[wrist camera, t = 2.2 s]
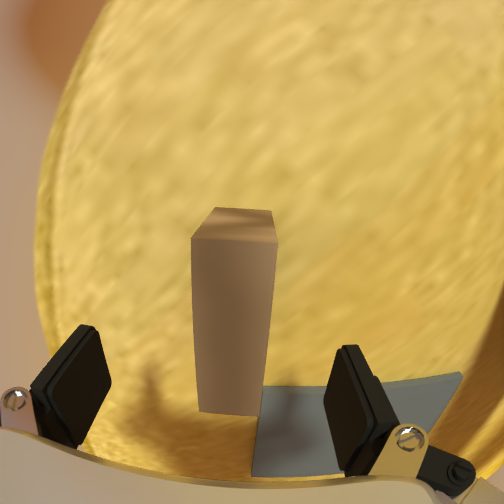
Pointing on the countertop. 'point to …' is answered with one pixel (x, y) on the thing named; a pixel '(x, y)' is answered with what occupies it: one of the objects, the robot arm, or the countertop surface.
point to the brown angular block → (232, 307)
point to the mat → (317, 429)
